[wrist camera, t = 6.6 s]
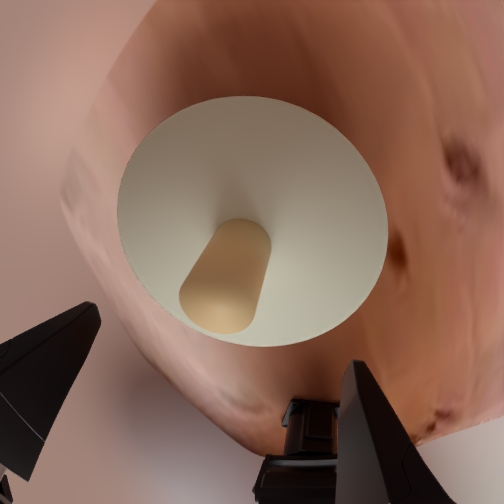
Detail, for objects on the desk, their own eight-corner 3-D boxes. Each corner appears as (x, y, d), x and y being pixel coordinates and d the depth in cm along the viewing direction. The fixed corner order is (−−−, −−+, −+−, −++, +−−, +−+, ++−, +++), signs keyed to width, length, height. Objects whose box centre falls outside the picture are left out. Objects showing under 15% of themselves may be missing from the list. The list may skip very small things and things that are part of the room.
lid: (341, 333, 19) (344, 423, 13) (149, 295, 21) (101, 366, 15) (403, 123, 12) (471, 151, 6) (138, 92, 14) (44, 107, 8)
